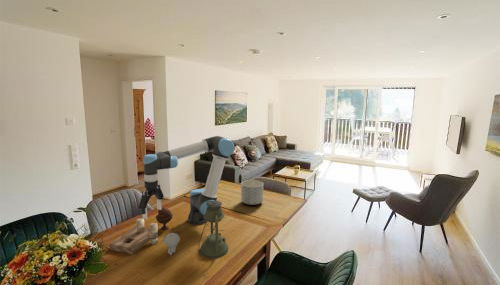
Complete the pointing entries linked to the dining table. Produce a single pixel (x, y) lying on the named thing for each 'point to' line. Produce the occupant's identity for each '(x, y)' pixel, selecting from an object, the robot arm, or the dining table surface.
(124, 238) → the wooden candle holder
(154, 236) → the peg
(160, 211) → the ice cream bowl
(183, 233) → the dining table surface
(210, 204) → the lantern
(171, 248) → the grey light bulb
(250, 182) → the planter
